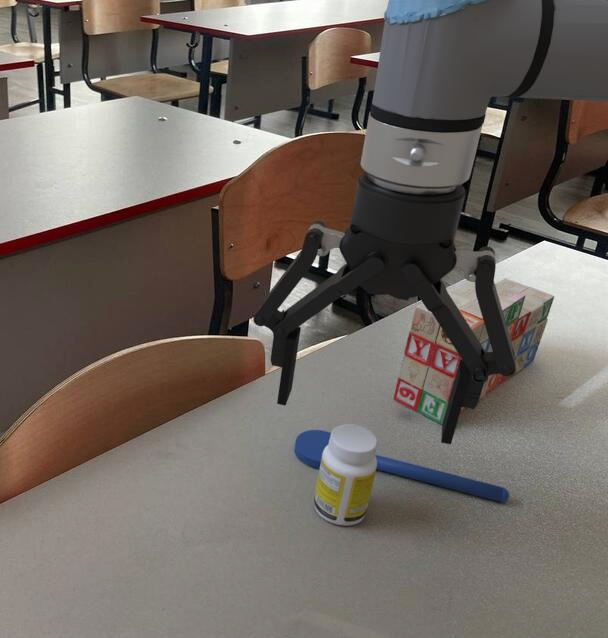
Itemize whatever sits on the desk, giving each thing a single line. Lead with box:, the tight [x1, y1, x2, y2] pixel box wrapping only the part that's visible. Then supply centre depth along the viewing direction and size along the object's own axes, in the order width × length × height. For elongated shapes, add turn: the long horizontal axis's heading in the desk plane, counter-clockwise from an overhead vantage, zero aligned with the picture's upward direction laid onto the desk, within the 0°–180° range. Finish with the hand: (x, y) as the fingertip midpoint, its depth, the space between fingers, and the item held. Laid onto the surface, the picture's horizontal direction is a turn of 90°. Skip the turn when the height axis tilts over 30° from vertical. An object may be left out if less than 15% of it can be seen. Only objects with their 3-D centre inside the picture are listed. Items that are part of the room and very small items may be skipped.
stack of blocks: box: [393, 278, 555, 425], centre depth 87 cm, size 21×6×12 cm, turn 129°
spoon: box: [293, 429, 510, 503], centre depth 75 cm, size 20×5×1 cm, turn 68°
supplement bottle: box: [313, 423, 378, 527], centre depth 69 cm, size 5×5×8 cm
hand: (362, 415), depth 65 cm, fingers open, 13 cm apart
